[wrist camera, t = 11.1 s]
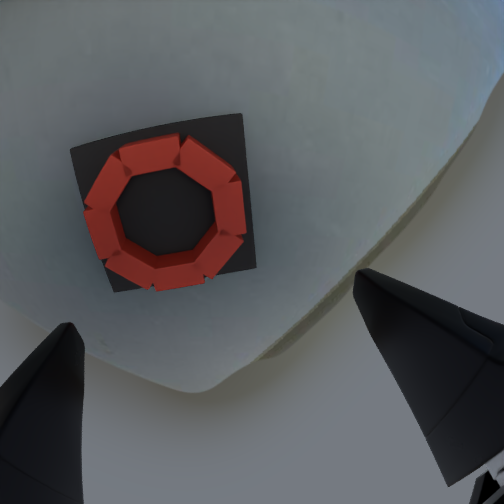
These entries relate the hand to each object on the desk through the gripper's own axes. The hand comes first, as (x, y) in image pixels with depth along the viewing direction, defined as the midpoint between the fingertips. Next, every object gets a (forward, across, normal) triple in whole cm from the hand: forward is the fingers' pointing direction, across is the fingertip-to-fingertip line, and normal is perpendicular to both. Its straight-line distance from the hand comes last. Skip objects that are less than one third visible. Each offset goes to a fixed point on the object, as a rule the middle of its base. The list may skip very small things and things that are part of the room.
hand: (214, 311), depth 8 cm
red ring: (+10, +2, 0) cm, 10 cm away
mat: (+10, +2, 0) cm, 10 cm away
